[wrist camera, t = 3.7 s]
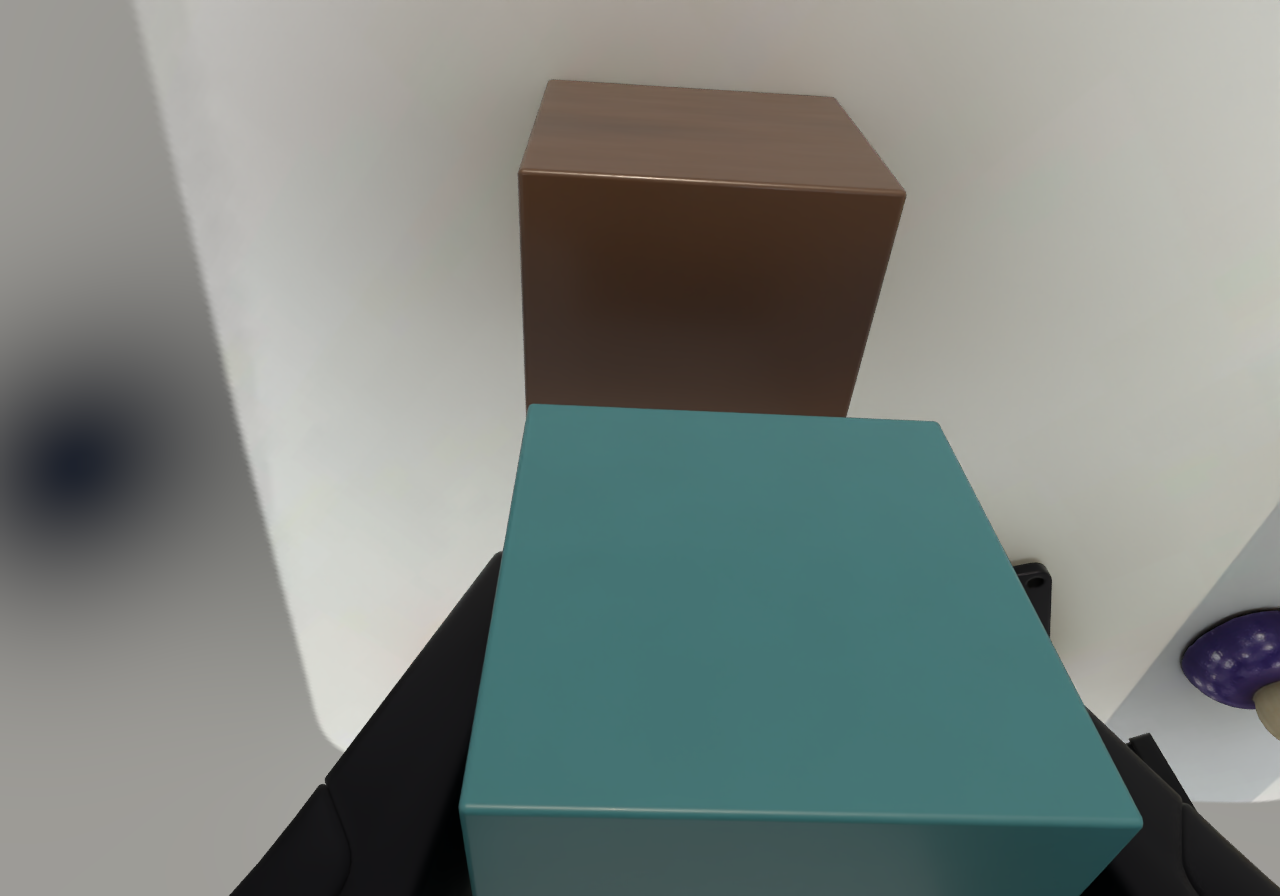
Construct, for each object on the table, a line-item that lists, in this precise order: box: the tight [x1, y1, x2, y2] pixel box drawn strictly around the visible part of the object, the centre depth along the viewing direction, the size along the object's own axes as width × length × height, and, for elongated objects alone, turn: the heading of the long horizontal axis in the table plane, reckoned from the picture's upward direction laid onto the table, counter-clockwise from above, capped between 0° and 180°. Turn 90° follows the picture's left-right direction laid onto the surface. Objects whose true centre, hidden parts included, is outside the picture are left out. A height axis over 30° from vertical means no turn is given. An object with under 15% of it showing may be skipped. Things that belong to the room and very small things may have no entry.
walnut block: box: [518, 80, 906, 417], centre depth 16 cm, size 6×6×6 cm
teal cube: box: [458, 404, 1143, 896], centre depth 8 cm, size 4×4×4 cm
